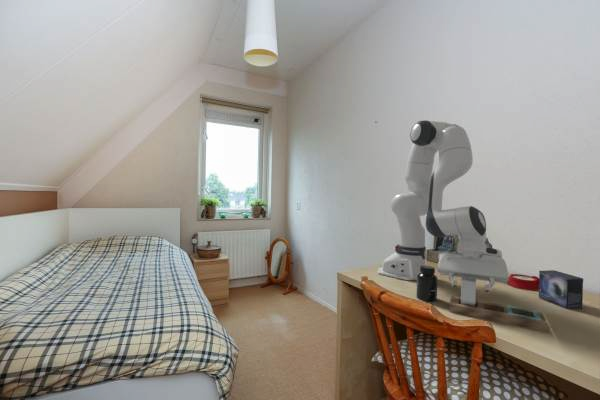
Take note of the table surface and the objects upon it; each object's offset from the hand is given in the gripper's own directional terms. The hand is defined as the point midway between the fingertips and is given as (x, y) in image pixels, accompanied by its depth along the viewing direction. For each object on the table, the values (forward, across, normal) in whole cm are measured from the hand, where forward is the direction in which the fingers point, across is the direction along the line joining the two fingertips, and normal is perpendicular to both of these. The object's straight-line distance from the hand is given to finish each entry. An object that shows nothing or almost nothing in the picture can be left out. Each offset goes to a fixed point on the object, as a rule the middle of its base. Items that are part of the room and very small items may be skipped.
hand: (470, 288), depth 91 cm
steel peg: (+5, -1, +5) cm, 7 cm away
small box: (-14, +26, +25) cm, 39 cm away
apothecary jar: (-32, +1, +43) cm, 54 cm away
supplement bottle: (+3, -14, +8) cm, 16 cm away
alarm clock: (-26, +19, +37) cm, 49 cm away
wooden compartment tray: (+6, +6, +5) cm, 10 cm away
